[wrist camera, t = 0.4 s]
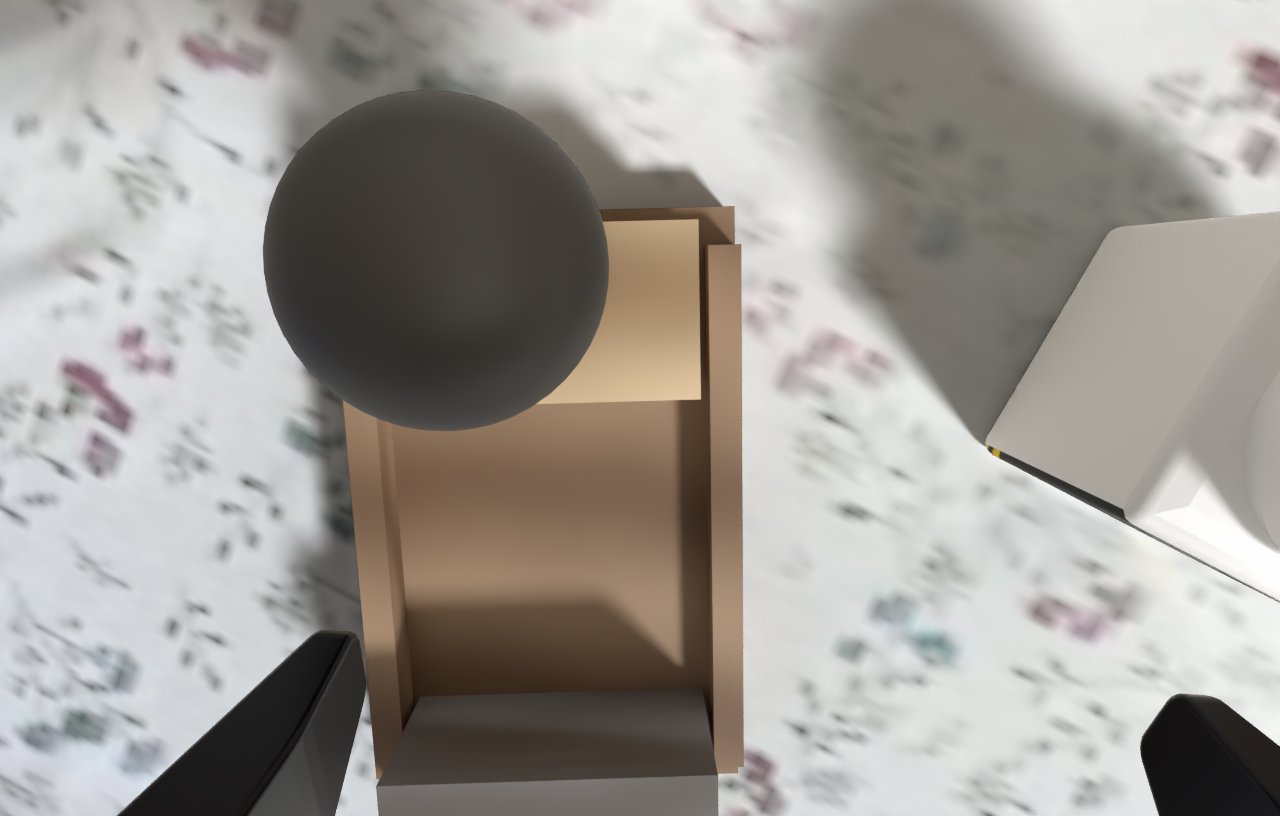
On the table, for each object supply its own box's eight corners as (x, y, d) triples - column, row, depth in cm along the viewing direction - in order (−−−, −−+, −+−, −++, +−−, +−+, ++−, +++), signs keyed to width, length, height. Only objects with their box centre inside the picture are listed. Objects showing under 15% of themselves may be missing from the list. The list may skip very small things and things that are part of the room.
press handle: (690, 381, 21) (787, 549, 8) (403, 389, 21) (49, 571, 8) (687, 187, 20) (790, 36, 7) (388, 194, 20) (-32, 56, 7)
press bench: (731, 742, 25) (760, 875, 19) (406, 753, 24) (343, 890, 19) (727, 211, 22) (759, 190, 16) (363, 220, 22) (275, 202, 16)
